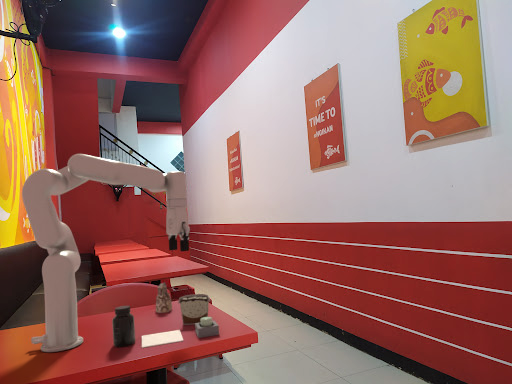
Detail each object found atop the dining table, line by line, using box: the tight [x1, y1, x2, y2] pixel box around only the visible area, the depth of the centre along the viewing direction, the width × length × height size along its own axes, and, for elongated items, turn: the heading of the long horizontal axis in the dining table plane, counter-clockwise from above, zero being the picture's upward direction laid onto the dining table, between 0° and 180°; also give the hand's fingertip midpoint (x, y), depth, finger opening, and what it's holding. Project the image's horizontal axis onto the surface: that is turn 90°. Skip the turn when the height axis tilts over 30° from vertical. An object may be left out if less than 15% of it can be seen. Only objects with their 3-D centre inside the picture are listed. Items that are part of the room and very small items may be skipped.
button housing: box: [194, 319, 220, 339], centre depth 124 cm, size 7×7×3 cm
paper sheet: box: [141, 329, 184, 349], centre depth 122 cm, size 13×12×1 cm
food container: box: [177, 293, 211, 326], centre depth 140 cm, size 12×6×10 cm, turn 84°
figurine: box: [155, 281, 173, 314], centre depth 161 cm, size 7×7×12 cm
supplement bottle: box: [111, 305, 136, 348], centre depth 119 cm, size 7×7×12 cm
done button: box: [200, 316, 213, 327], centre depth 125 cm, size 4×4×3 cm
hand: (178, 250), depth 134 cm, fingers open, 9 cm apart
